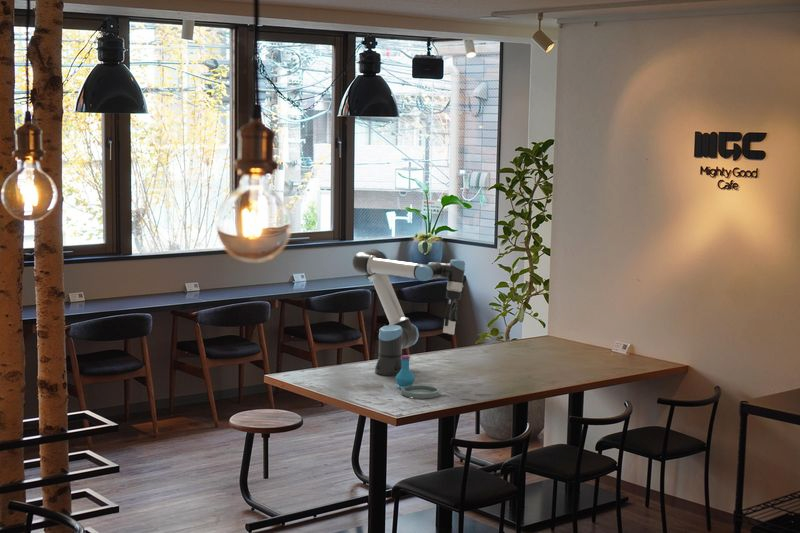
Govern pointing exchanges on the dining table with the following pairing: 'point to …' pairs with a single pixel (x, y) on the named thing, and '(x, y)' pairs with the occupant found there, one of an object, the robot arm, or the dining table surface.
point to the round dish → (420, 391)
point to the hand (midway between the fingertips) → (448, 333)
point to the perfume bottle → (405, 373)
